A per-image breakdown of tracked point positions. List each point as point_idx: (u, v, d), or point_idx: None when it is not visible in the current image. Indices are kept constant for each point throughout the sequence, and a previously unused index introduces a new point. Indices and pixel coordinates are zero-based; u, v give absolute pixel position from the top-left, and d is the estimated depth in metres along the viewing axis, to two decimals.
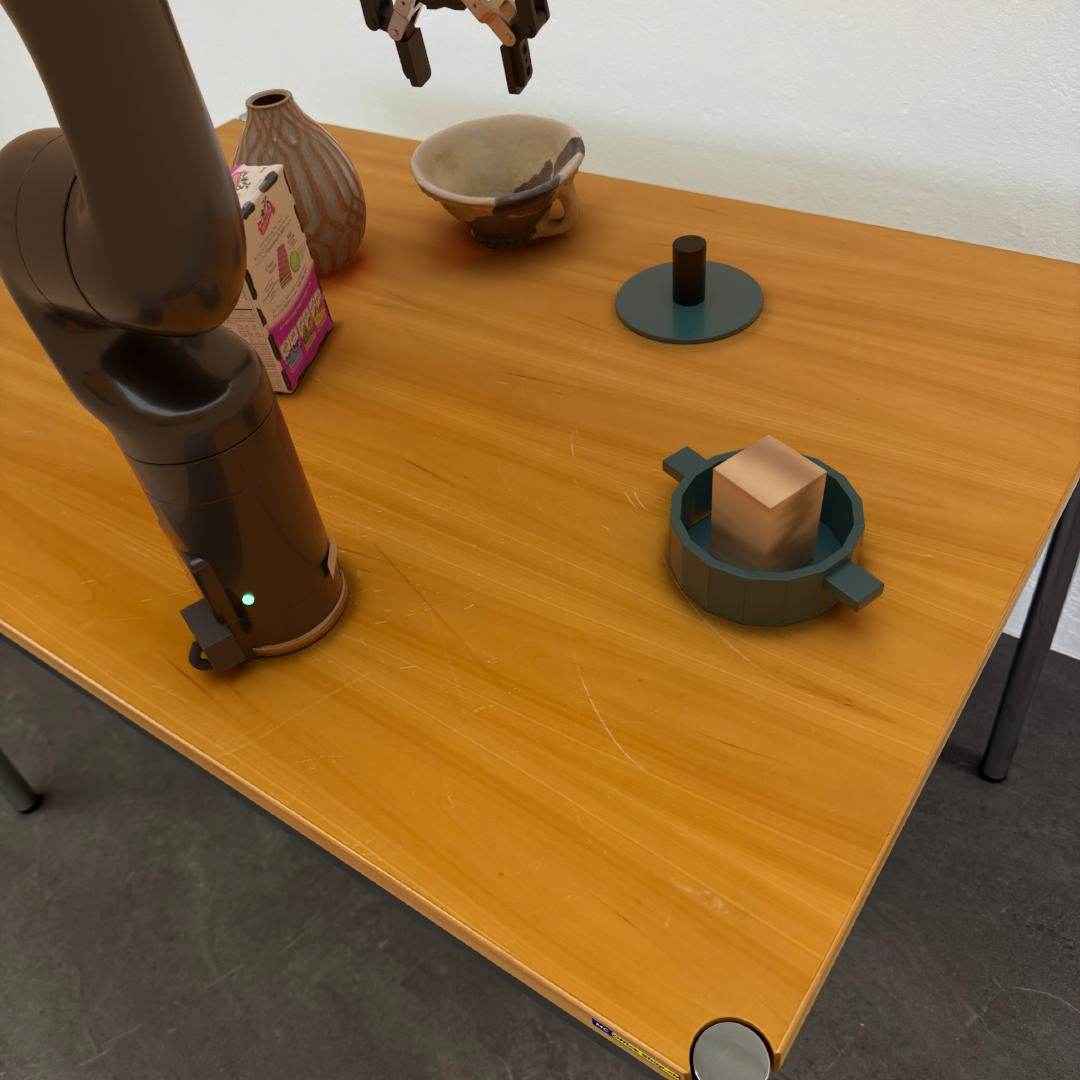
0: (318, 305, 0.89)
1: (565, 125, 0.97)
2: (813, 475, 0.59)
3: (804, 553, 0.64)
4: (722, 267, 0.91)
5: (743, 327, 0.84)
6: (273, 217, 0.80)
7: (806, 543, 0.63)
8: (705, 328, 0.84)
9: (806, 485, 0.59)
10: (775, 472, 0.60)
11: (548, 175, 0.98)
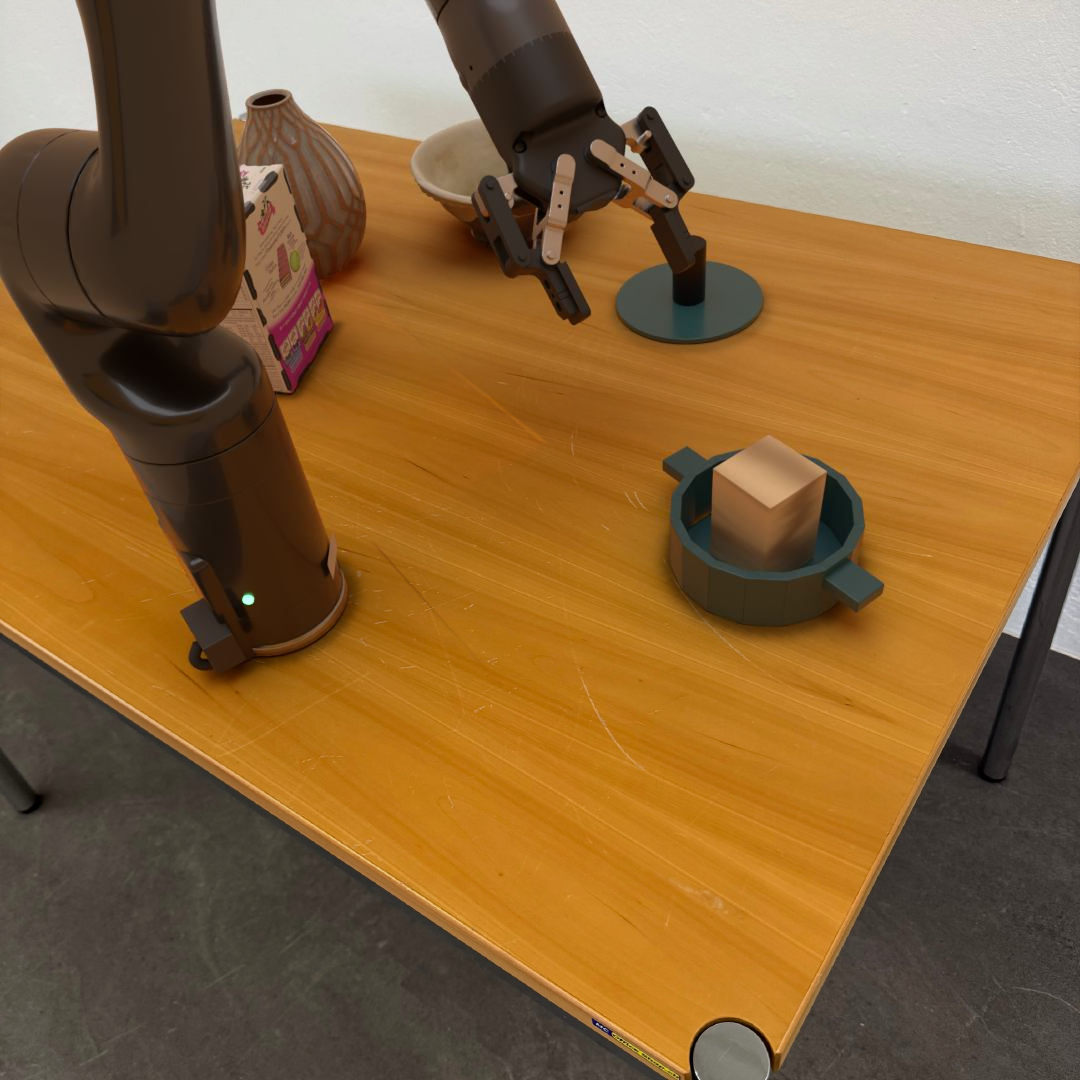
0: (318, 305, 0.89)
1: None
2: (813, 475, 0.59)
3: (804, 553, 0.64)
4: (722, 267, 0.91)
5: (743, 327, 0.84)
6: (273, 217, 0.80)
7: (806, 543, 0.63)
8: (705, 328, 0.84)
9: (806, 485, 0.59)
10: (775, 472, 0.60)
11: None
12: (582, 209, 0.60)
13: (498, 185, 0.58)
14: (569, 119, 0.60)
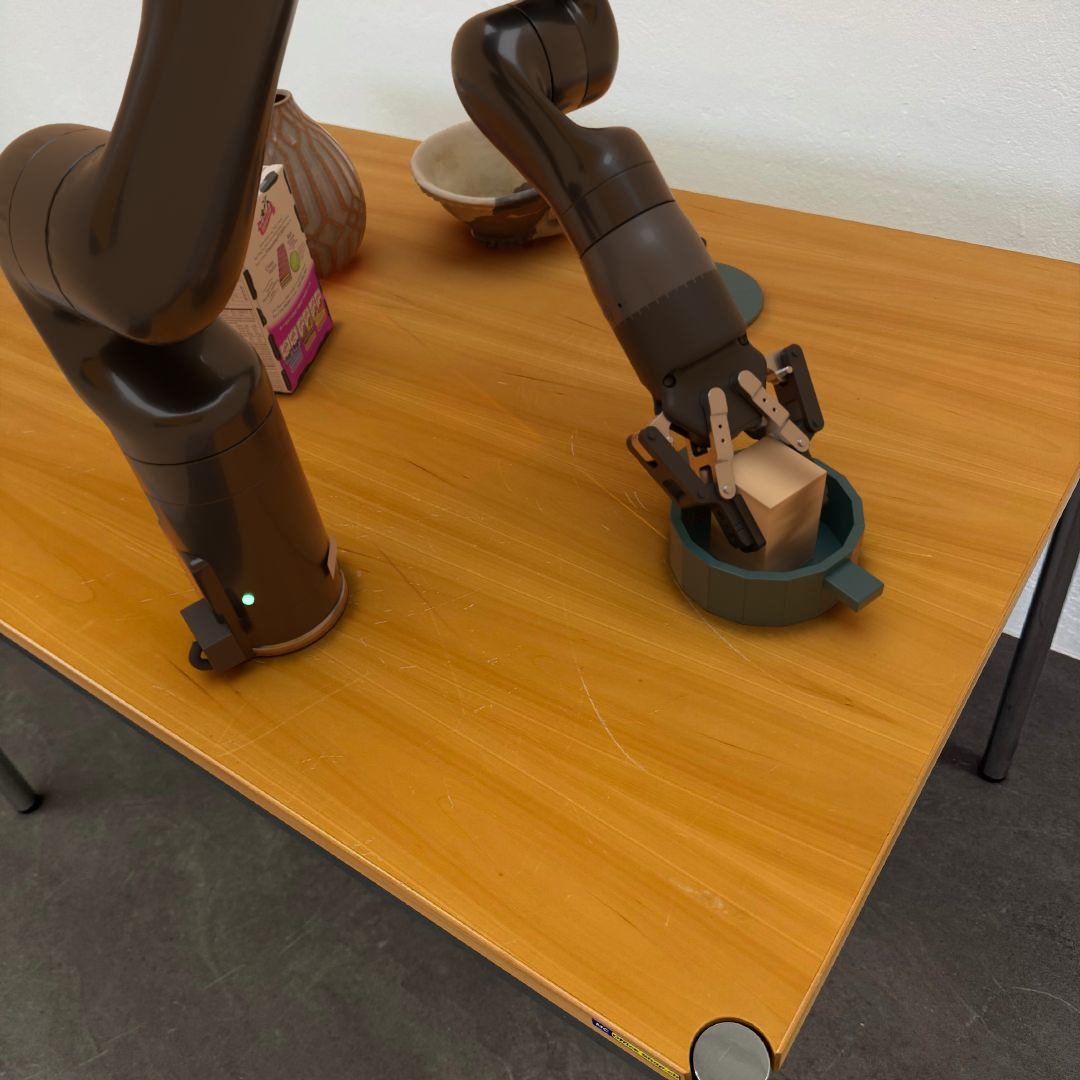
0: (318, 305, 0.89)
1: None
2: (813, 475, 0.59)
3: (804, 553, 0.64)
4: (722, 267, 0.91)
5: None
6: (273, 217, 0.80)
7: (806, 543, 0.63)
8: None
9: (806, 485, 0.59)
10: (775, 472, 0.60)
11: None
12: (730, 439, 0.60)
13: (659, 432, 0.58)
14: (715, 351, 0.59)
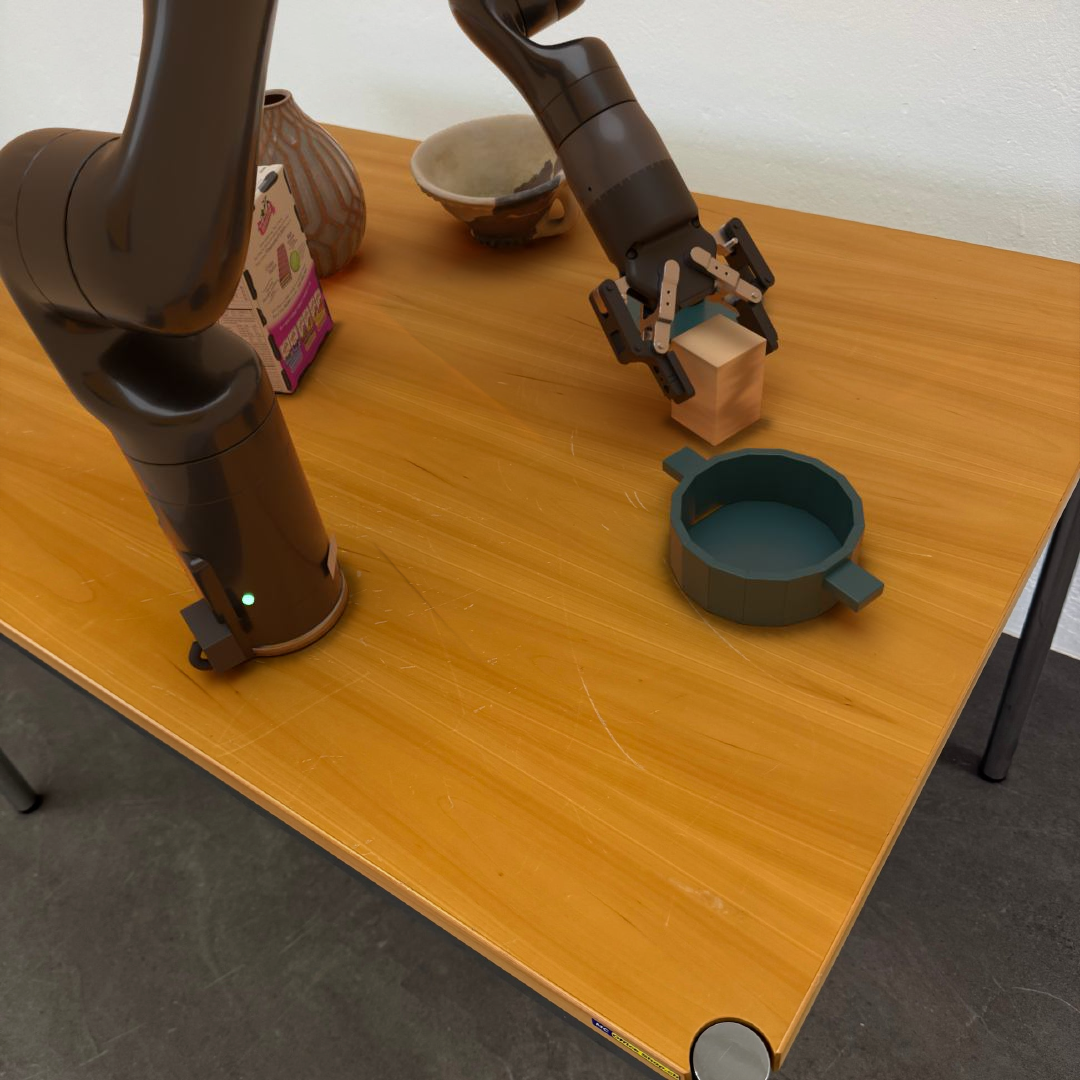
0: (318, 305, 0.89)
1: None
2: (755, 342, 0.70)
3: (751, 417, 0.75)
4: None
5: None
6: (273, 217, 0.80)
7: (752, 407, 0.74)
8: None
9: (748, 350, 0.70)
10: (723, 341, 0.71)
11: (548, 175, 0.98)
12: (684, 305, 0.70)
13: (616, 287, 0.68)
14: (671, 230, 0.70)
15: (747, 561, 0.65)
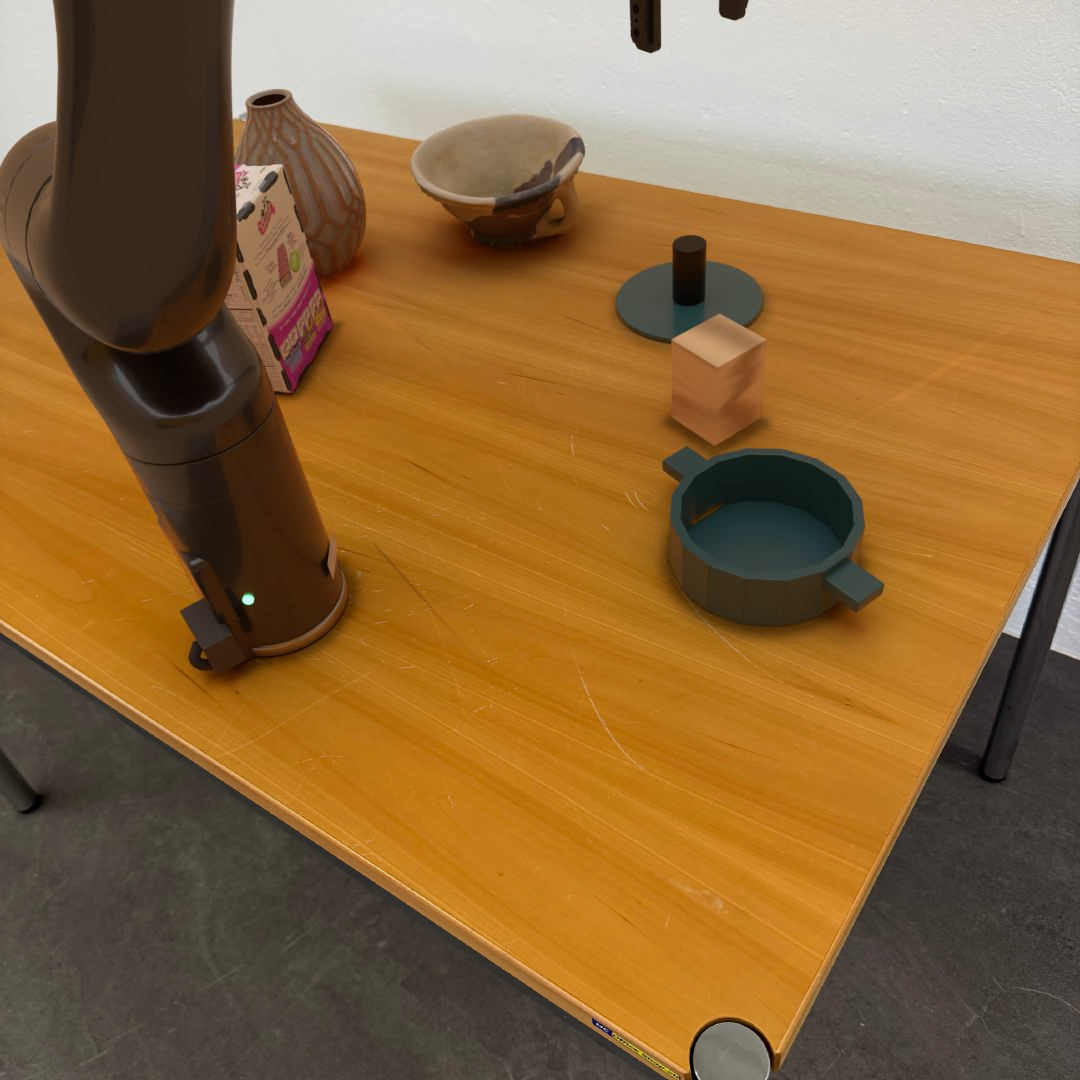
0: (318, 305, 0.89)
1: (565, 125, 0.97)
2: (755, 342, 0.70)
3: (751, 417, 0.75)
4: (722, 267, 0.91)
5: None
6: (273, 217, 0.80)
7: (752, 407, 0.74)
8: None
9: (748, 350, 0.70)
10: (723, 341, 0.71)
11: (548, 175, 0.98)
12: None
13: None
14: None
15: (747, 561, 0.65)
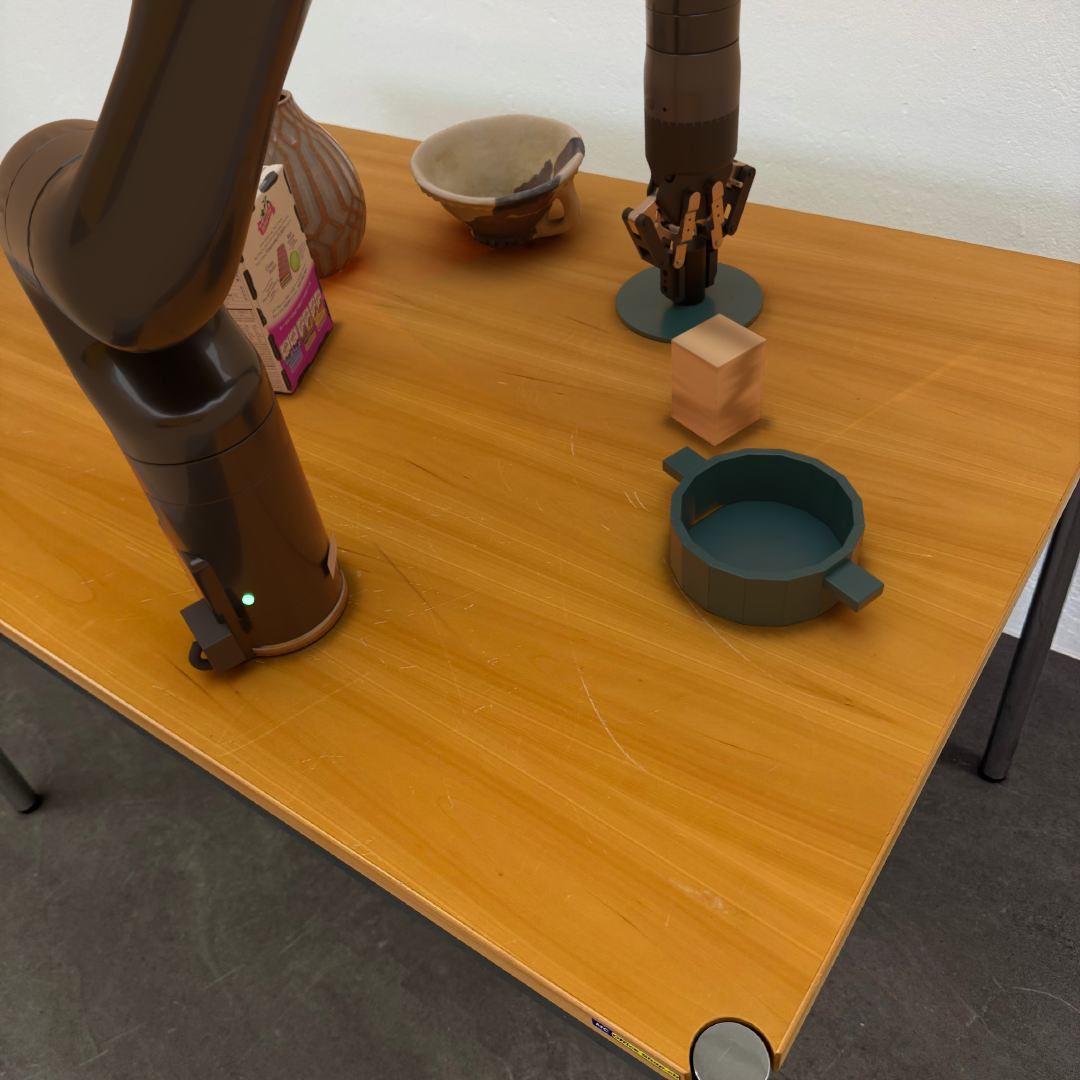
0: (318, 305, 0.89)
1: (565, 125, 0.97)
2: (755, 342, 0.70)
3: (751, 417, 0.75)
4: (722, 267, 0.91)
5: None
6: (273, 217, 0.80)
7: (752, 407, 0.74)
8: None
9: (748, 350, 0.70)
10: (723, 341, 0.71)
11: (548, 175, 0.98)
12: None
13: (651, 221, 0.78)
14: None
15: (747, 561, 0.65)
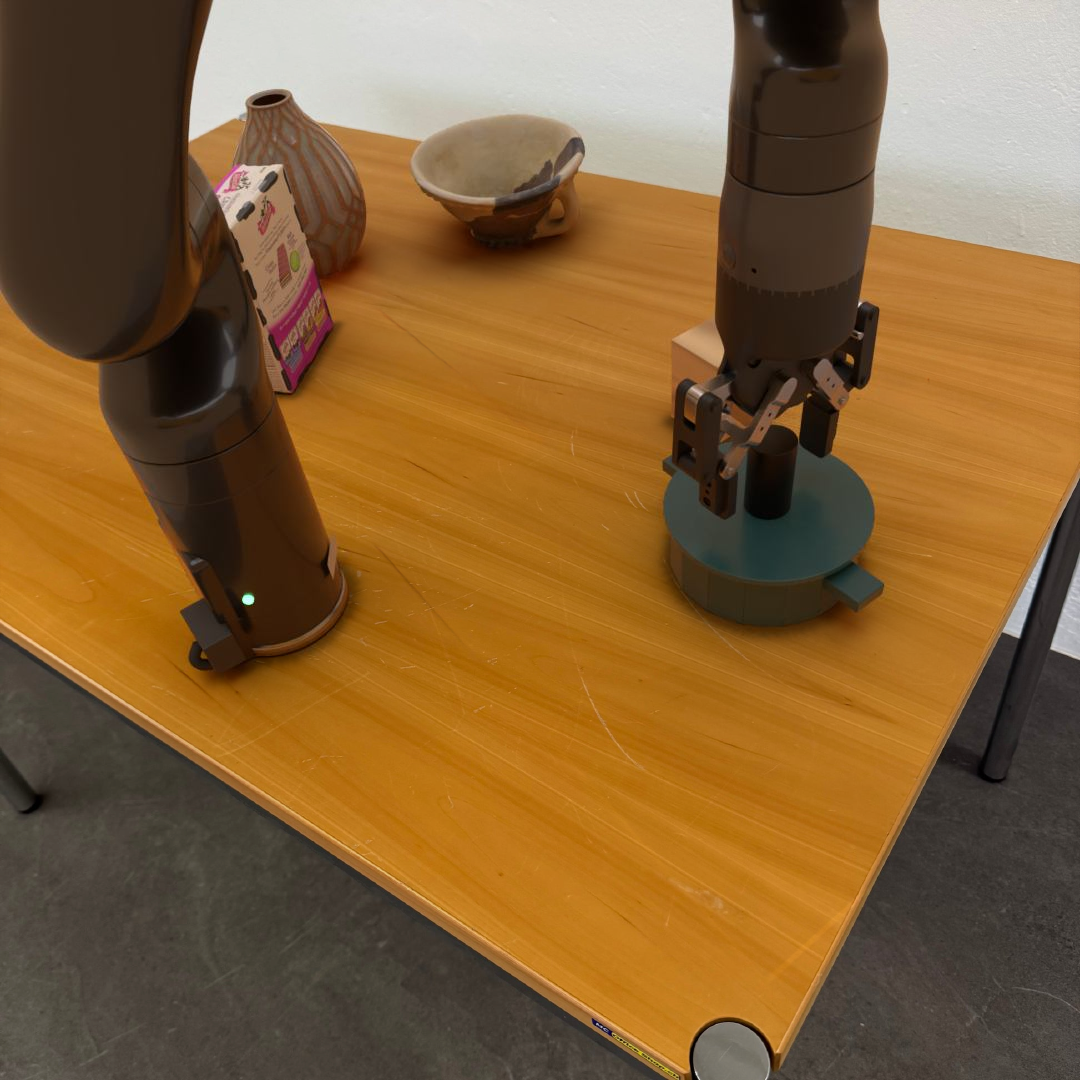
0: (318, 305, 0.89)
1: (565, 125, 0.97)
2: None
3: (751, 417, 0.75)
4: None
5: (851, 560, 0.58)
6: (273, 217, 0.80)
7: None
8: (795, 562, 0.58)
9: None
10: None
11: (548, 175, 0.98)
12: (773, 419, 0.55)
13: (720, 407, 0.51)
14: None
15: None
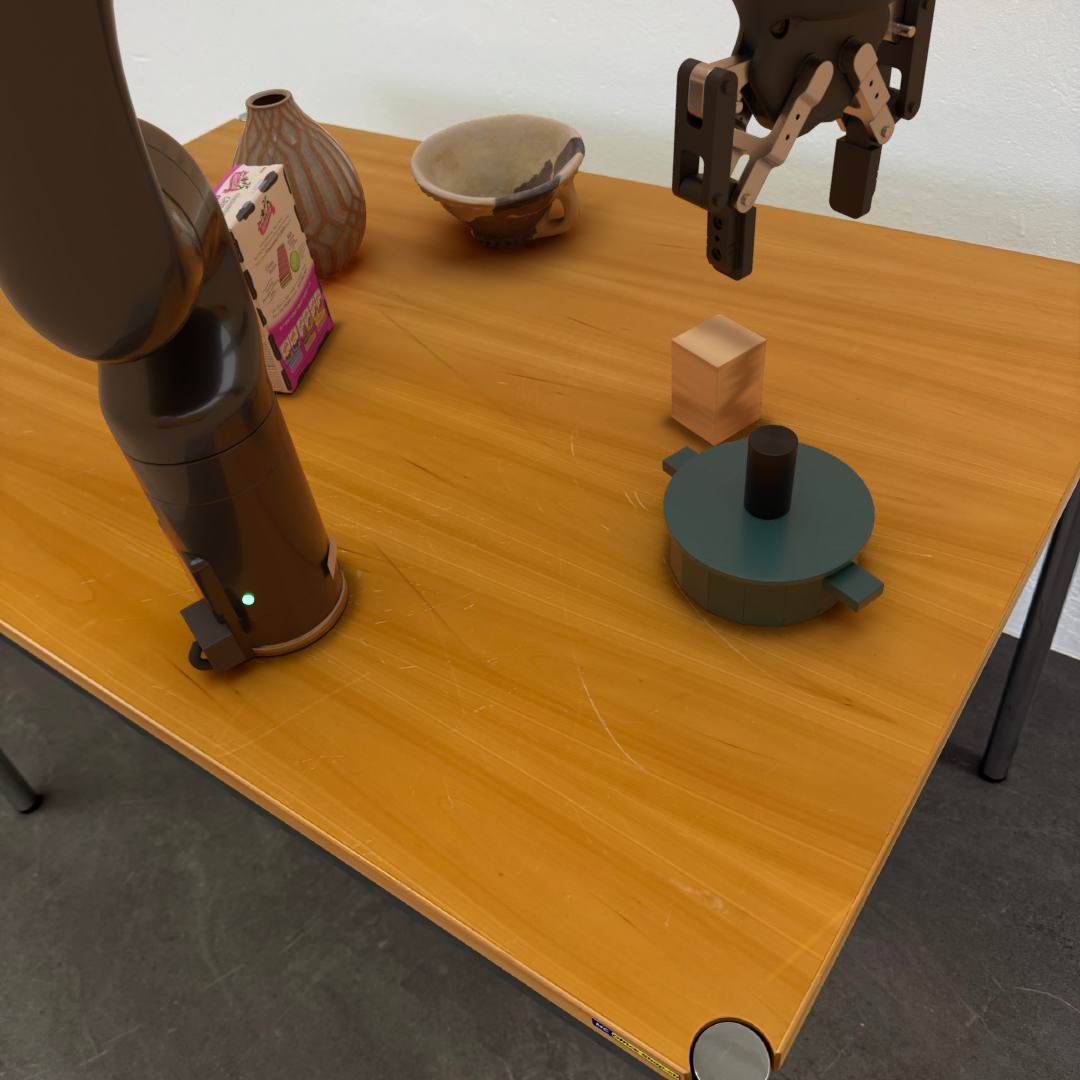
0: (318, 305, 0.89)
1: (565, 125, 0.97)
2: (755, 342, 0.70)
3: (751, 417, 0.75)
4: (810, 452, 0.65)
5: (851, 560, 0.58)
6: (273, 217, 0.80)
7: (752, 407, 0.74)
8: (795, 562, 0.58)
9: (748, 350, 0.70)
10: (723, 341, 0.71)
11: (548, 175, 0.98)
12: (801, 134, 0.43)
13: (735, 89, 0.39)
14: None
15: None
